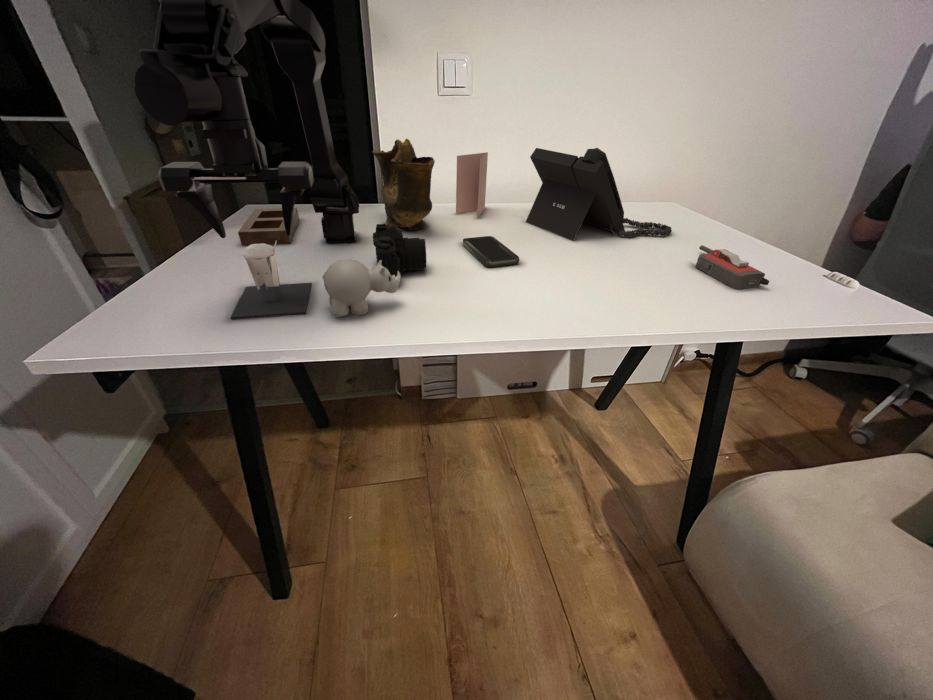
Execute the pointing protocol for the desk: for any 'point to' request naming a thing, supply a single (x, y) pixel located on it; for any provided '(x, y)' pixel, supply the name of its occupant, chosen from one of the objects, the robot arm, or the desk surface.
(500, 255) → the phone
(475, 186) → the greeting card
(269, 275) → the milkshake
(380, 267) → the round bodied animal figurine
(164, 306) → the desk surface
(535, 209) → the office phone
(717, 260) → the walkie-talkie
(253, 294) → the mat
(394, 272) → the film camera
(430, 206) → the pottery vessel
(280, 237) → the rack
